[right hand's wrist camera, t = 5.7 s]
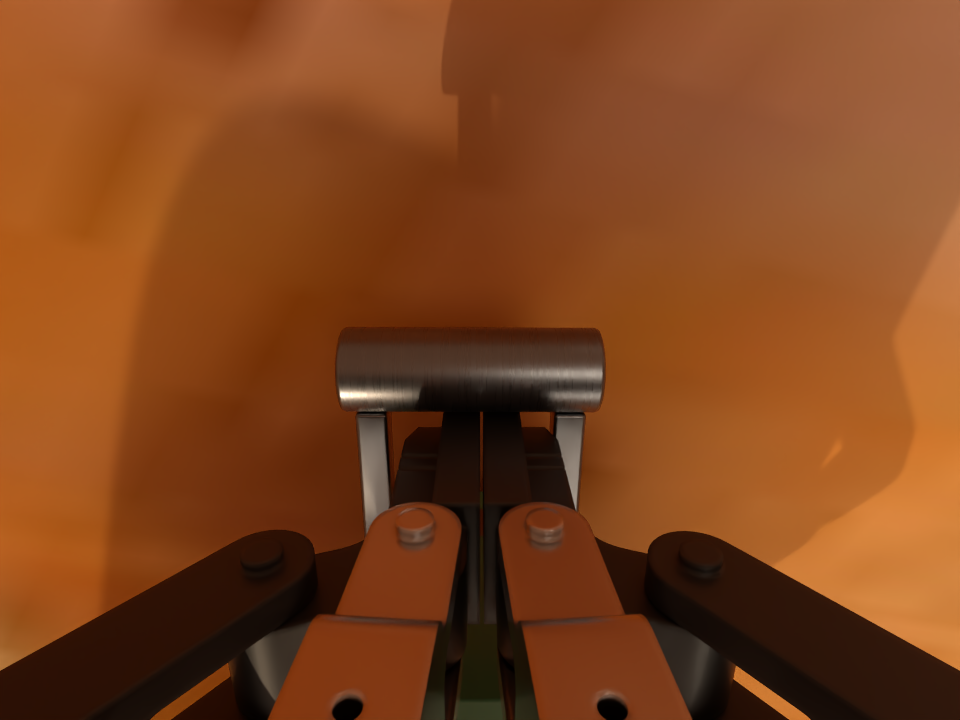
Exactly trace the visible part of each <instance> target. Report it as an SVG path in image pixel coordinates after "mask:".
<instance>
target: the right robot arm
mask: <svg viewBox="0 0 960 720" xmlns="http://www.w3.org/2000/svg"><path fill="white" fill-rule="evenodd" d="M483 571H484V624H497V675H498V683H499V691H500V699H501V708H502V716H503V720H789V719H787V718H786V717H784V716H783V715H782V714H780V713H779V712H778V711H776V710H775V709H773V708H772V707H771V706H769V705H768V704H767V703H765V702H764V701H762V700H761V699H760V698H758V697H757V696H756V695H754V694H753V693H751V692H750V691H749V690H747V689H746V688H745V687H743V686H742V685H740V684H739V683H738V682H736V681H735V680H734V679H733V677H734V672H735V667H736V666H738V667H739V668H741V669H742V670H743V671H745V672H746V673H748V674H749V675H750V676H752V677H753V678H755V679H756V680H758V681H759V682H760V683H762V684H763V685H765V686H766V687H767V688H769V689H770V690H772V691H773V692H774V693H776V694H777V695H779V696H780V697H782V698H783V699H784V700H786V701H787V702H789V703H790V704H791V705H793V706H794V707H796V708H797V709H799V710H800V711H801V712H803V713H804V714H805V715H807V716H808V717H809V718H810V719H811V720H960V671H959V670H957V669H956V668H954V667H952V666H950V665H948V664H946V663H945V662H943V661H941V660H939V659H937V658H936V657H934V656H932V655H930V654H928V653H926V652H925V651H923V650H921V649H919V648H917V647H916V646H914V645H912V644H910V643H908V642H907V641H905V640H903V639H901V638H899V637H897V636H896V635H894V634H892V633H890V632H888V631H887V630H885V629H883V628H881V627H879V626H878V625H876V624H874V623H872V622H870V621H868V620H867V619H865V618H863V617H861V616H859V615H858V614H856V613H854V612H852V611H850V610H849V609H847V608H845V607H843V606H841V605H839V604H838V603H836V602H834V601H832V600H830V599H829V598H827V597H825V596H823V595H821V594H819V593H818V592H816V591H814V590H812V589H810V588H809V587H807V586H805V585H803V584H801V583H800V582H798V581H796V580H794V579H792V578H790V577H789V576H787V575H785V574H783V573H781V572H780V571H778V570H776V569H774V568H772V567H771V566H769V565H767V564H765V563H763V562H761V561H760V560H758V559H756V558H754V557H752V556H751V555H749V554H747V553H745V552H743V551H742V550H740V549H738V548H736V547H734V546H732V545H731V544H729V543H727V542H725V541H723V540H721V539H719V538H716V537H713V536H711V535H707V534H703V533H698V532H691V531H676V532H670V533H667V534H663V535H661V536H659V537H658V538H656V539H655V540H654V541H653V542H652V543H651V545H650V547H649V549H648V554H646V553H642V552H637V551H633V550H628V549H624V548H620V547H616V546H613V545H610V544H608V543H605V542H603V541H601V540H599V539H598V538H596V537H595V536H594V535H593V532H592V530H591V527H590V525H589V524H588V522H587V520H586V519H585V518H584V517H583V516H582V515H581V514H579V513H578V512H576V509H575V505H574V501H573V497H572V493H571V489H570V485H569V481H568V477H567V473H566V470H565V465H564V461H563V457H562V453H561V449H560V445H559V441H558V439H557V438H556V437H555V436H553V435H552V434H551V433H550V432H549V431H548V430H547V429H546V428H545V427H522V426H521V419H520V412H483ZM468 624H480V412H444V413H443V421H442V427H418V428H417V429H416V430H415V431H414V432H413V433H412V434H411V435H410V436H409V437H408V438H407V439H406V440H405V442H404V446H403V450H402V457H401V459H400V463H399V470H398V471H397V475H396V480H395V484H394V488H393V492H392V496H391V500H390V504H389V509H387V510H385V511H384V512H382V513H381V514H379V515H378V516H377V517H376V518H375V519H374V520H373V522H372V523H371V525H370V527H369V530H368V532H367V535H366V537H365V540H363V541H361V542H359V543H357V544H354V545H352V546H349V547H345V548H342V549H337V550H333V551H328V552H324V553H319V554H315V552H314V547H313V545H312V543H311V542H310V540H309V539H308V538H306V537H305V536H303V535H301V534H299V533H297V532H293V531H288V530H268V531H262V532H258V533H254V534H251V535H248V536H245V537H243V538H241V539H239V540H237V541H235V542H233V543H231V544H229V545H228V546H226V547H224V548H222V549H220V550H218V551H217V552H215V553H213V554H211V555H209V556H208V557H206V558H204V559H202V560H200V561H199V562H197V563H195V564H193V565H191V566H189V567H188V568H186V569H184V570H182V571H180V572H179V573H177V574H175V575H173V576H171V577H170V578H168V579H166V580H164V581H162V582H160V583H159V584H157V585H155V586H153V587H151V588H150V589H148V590H146V591H144V592H142V593H141V594H139V595H137V596H135V597H133V598H131V599H130V600H128V601H126V602H124V603H122V604H121V605H119V606H117V607H115V608H113V609H112V610H110V611H108V612H106V613H104V614H102V615H101V616H99V617H97V618H95V619H93V620H92V621H90V622H88V623H86V624H84V625H82V626H81V627H79V628H77V629H75V630H73V631H72V632H70V633H68V634H66V635H64V636H63V637H61V638H59V639H57V640H55V641H53V642H52V643H50V644H48V645H46V646H44V647H43V648H41V649H39V650H37V651H35V652H34V653H32V654H30V655H28V656H26V657H24V658H23V659H21V660H19V661H17V662H15V663H14V664H12V665H10V666H8V667H6V668H5V669H3V670H1V671H0V720H150V719H151V718H152V717H153V716H154V715H155V714H156V713H158V712H159V711H160V710H161V709H163V708H164V707H166V706H167V705H169V704H170V703H171V702H173V701H174V700H176V699H177V698H178V697H180V696H181V695H183V694H184V693H186V692H187V691H188V690H190V689H191V688H193V687H194V686H195V685H197V684H198V683H200V682H201V681H202V680H204V679H205V678H207V677H208V676H210V675H211V674H212V673H214V672H215V671H217V670H218V669H219V668H221V667H222V666H224V665H225V664H227V663H228V665H229V670H230V675H231V677H229V678H228V679H226V680H225V681H224V682H222V683H221V684H220V685H218V686H217V687H215V688H214V689H213V690H211V691H210V692H209V693H207V694H206V695H204V696H203V697H202V698H200V699H199V700H198V701H196V702H195V703H193V704H192V705H191V706H189V707H188V708H187V709H185V710H184V711H182V712H181V713H180V714H178V715H177V716H176V717H174V718H173V719H172V720H457V716H458V707H459V699H460V691H461V682H462V674H463V654H464V652H465V649H466V645H467V626H468Z"/></svg>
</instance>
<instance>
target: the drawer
mask: <svg viewBox="0 0 960 720" xmlns="http://www.w3.org/2000/svg"><path fill="white" fill-rule="evenodd" d="M605 378H606V362H605V350H604V344H603V340H602V337H601V334H600V332H599V330H598V329H595V328H464V327H346V328H344V329H343V330H342V331H341V333H340V336H339V339H338V343H337V349H336V358H335V383H336V392H337V397H338V401H339V404H340V406H341V408H342V409H343V410H344V411H351V412H357V414H356V430H357V443H358V456H359V470H360V483H361V496H362V510H363V523H364V536H365V537H366V535H367V532H368V530H369V527H370V525H371V523H372V522H373V520H374V519H375V518H376V517H377V516H378V515H379V514H381V513H382V512H384V511H385V510H387V509H389V504H390V500H391V496H392V492H393V488H394V484H395V476H394V457H393V437H392V418H391V412H550V430H549V432H550V433H551V434H552V435H553V436H555V437H556V438H557V439H558V441H559V445H560V449H561V453H562V457H563V461H564V465H565V470H566V473H567V477H568V481H569V485H570V489H571V493H572V497H573V501H574V505H575V509H576V512H578V511H579V498H580V485H581V472H582V459H583V446H584V433H585V420H586V416H585V414H584V412H596V411H598V410H599V409H600V407H601V404H602V401H603V396H604V390H605ZM457 720H503V716H502V708H501V699H500V691H499V683H498V675H497V624H484V571H483V492H481V491H480V624H468V626H467V645H466V649H465V652H464V654H463V674H462V682H461V691H460V699H459V707H458V716H457Z"/></svg>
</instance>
